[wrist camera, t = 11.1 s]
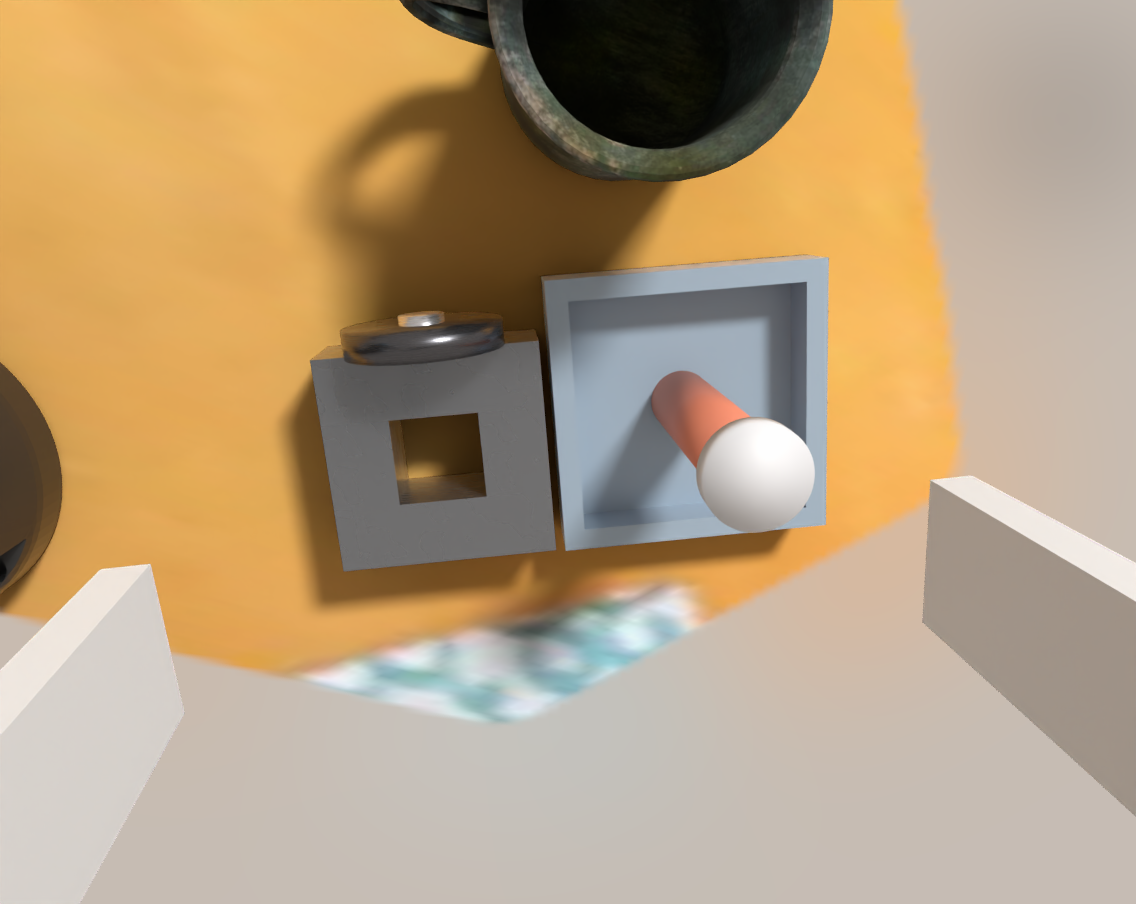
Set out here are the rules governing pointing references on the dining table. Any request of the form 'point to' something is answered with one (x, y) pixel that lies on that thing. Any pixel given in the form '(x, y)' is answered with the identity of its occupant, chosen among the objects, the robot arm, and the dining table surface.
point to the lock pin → (735, 454)
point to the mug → (645, 76)
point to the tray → (668, 344)
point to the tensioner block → (428, 389)
